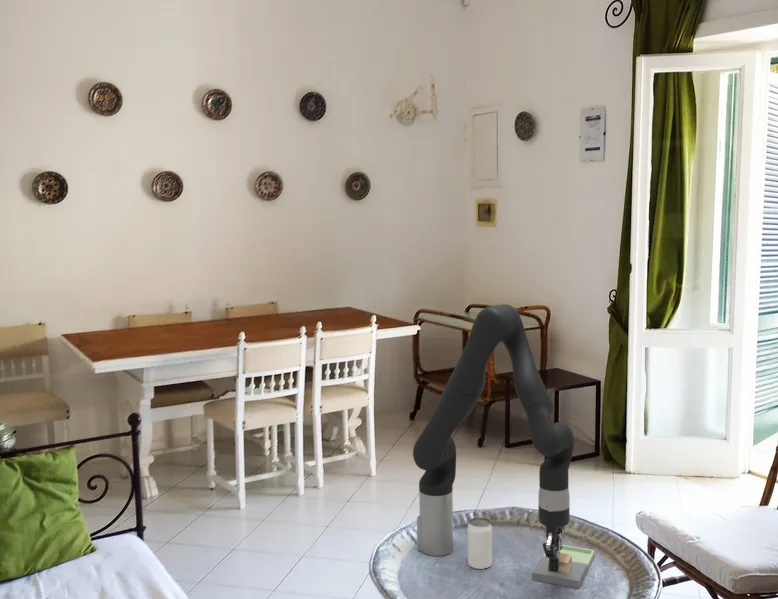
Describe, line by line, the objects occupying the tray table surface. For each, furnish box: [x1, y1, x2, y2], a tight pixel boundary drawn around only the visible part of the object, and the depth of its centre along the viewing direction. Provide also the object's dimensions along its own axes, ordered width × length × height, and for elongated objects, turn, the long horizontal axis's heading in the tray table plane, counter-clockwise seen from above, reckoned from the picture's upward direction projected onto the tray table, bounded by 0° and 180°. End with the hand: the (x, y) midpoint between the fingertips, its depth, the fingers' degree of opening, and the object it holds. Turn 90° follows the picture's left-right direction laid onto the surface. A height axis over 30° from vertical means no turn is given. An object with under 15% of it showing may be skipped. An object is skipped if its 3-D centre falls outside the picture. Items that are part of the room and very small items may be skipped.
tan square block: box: [548, 553, 572, 574], centre depth 211 cm, size 5×5×3 cm
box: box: [543, 544, 596, 571], centre depth 220 cm, size 12×10×2 cm
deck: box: [531, 556, 588, 589], centre depth 211 cm, size 12×10×2 cm
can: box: [466, 516, 493, 570], centre depth 217 cm, size 6×6×12 cm
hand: (554, 570), depth 204 cm, fingers closed
